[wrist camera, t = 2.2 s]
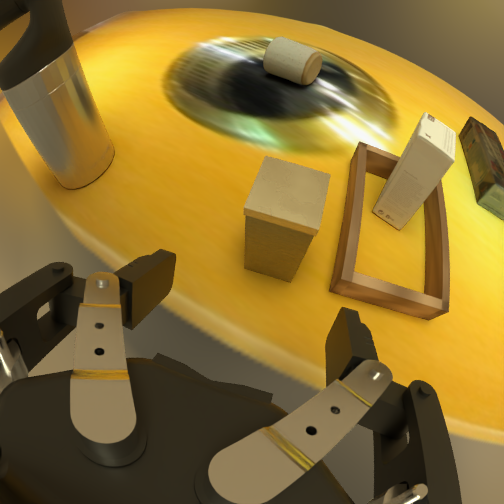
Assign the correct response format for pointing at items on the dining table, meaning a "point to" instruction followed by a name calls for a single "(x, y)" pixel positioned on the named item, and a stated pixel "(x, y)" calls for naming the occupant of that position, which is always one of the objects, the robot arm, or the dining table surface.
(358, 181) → the crate
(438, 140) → the skincare box
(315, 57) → the ceramic mug
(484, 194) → the beverage carton
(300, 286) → the dining table surface
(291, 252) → the tea tin
